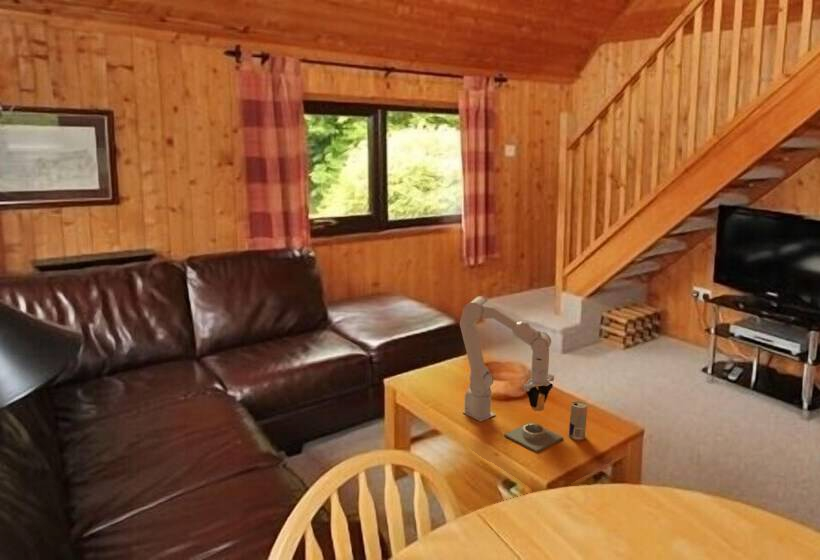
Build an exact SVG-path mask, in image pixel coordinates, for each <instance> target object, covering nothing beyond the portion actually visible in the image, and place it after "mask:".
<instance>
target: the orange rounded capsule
mask: <svg viewBox="0 0 820 560" xmlns="http://www.w3.org/2000/svg"><path fill="white" fill-rule="evenodd" d="M544 400H545V395H544V394H543V393H540V394H539V396H538V401H537V406H536V407H535V408H534V407H532V406H530V409H532V410H533V411H535V412H541V411H544V410H545V403H544Z"/></svg>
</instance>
